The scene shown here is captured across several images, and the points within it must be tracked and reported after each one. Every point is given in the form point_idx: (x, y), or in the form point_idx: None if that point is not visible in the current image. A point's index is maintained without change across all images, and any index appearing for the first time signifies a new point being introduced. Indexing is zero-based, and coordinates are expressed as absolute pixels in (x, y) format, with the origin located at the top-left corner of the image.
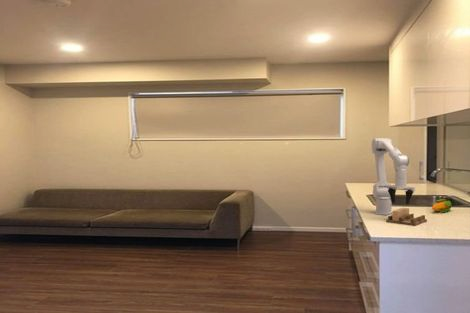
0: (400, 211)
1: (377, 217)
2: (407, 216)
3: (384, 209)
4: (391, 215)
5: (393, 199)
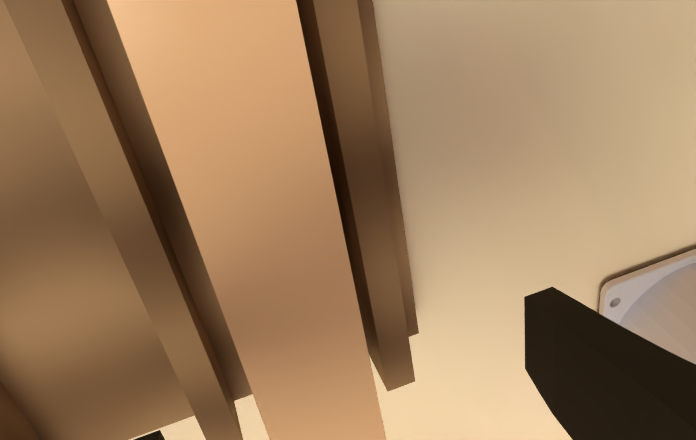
0: (161, 142)
1: (632, 82)
2: (124, 257)
3: (678, 338)
4: (345, 18)
5: (584, 375)
